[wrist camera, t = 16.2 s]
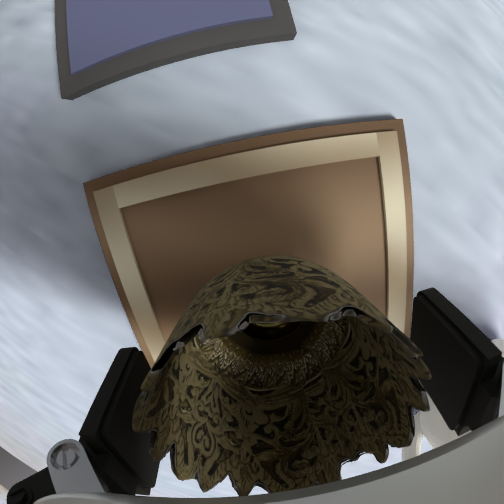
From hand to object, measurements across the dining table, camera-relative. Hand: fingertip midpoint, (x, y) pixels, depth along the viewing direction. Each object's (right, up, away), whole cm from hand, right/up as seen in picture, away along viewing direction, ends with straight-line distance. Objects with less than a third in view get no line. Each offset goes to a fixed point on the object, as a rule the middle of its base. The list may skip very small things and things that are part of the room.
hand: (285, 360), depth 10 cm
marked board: (0, +2, +5) cm, 5 cm away
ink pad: (-5, +16, -1) cm, 17 cm away
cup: (0, +2, +4) cm, 5 cm away
